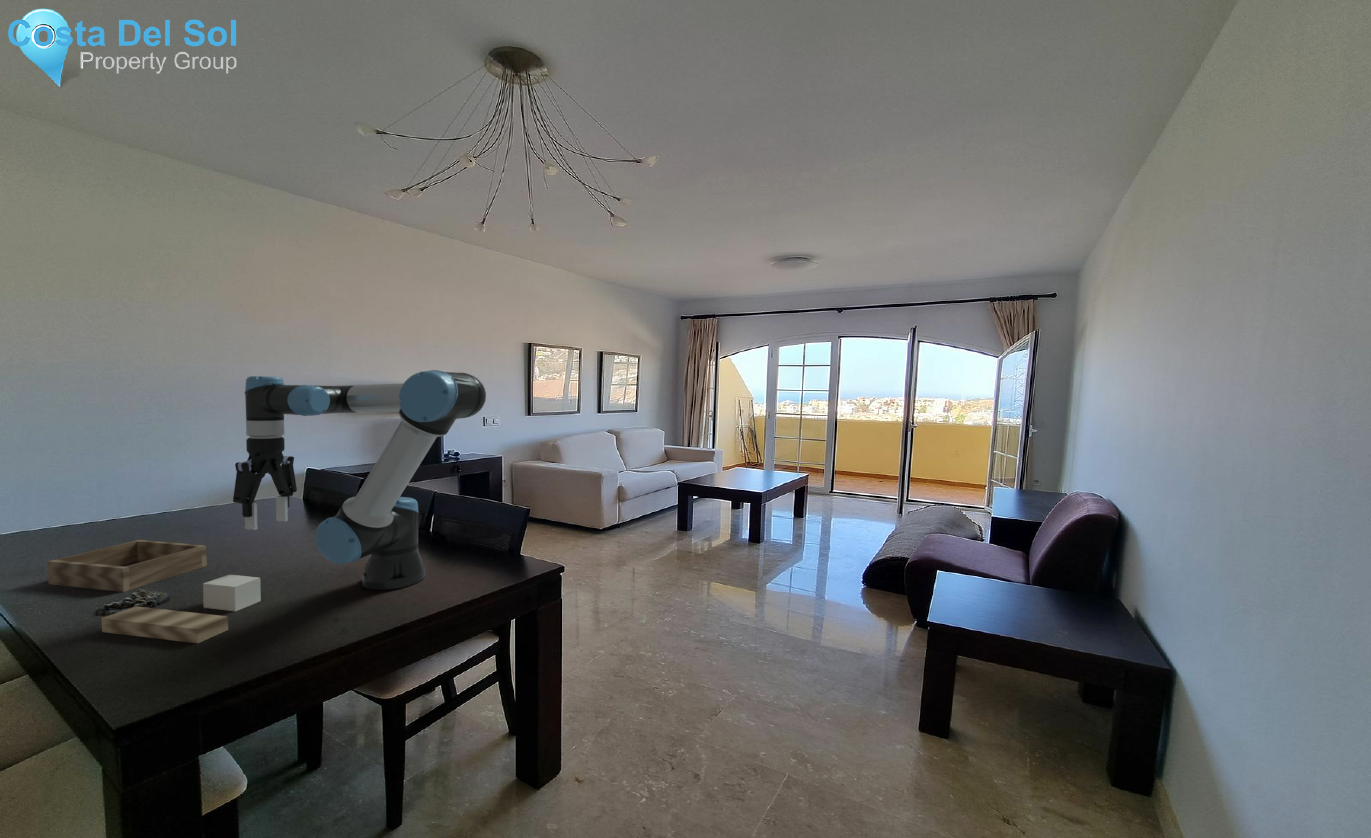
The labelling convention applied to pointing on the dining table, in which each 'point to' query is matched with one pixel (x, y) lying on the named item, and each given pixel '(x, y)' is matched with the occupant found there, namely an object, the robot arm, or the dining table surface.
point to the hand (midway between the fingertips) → (267, 524)
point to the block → (231, 592)
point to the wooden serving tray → (109, 573)
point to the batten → (165, 624)
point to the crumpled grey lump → (134, 602)
